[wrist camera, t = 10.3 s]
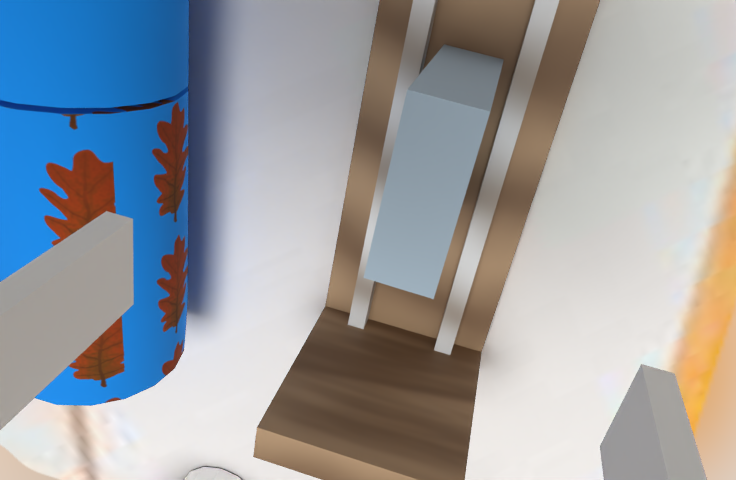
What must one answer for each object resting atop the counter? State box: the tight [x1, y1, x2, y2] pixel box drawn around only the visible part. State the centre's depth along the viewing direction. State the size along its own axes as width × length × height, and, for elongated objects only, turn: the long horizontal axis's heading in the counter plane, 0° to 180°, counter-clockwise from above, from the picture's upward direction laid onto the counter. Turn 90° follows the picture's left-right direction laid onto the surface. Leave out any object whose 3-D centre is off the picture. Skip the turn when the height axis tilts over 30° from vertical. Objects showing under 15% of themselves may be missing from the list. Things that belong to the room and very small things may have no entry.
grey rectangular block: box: [364, 45, 504, 299], centre depth 28 cm, size 8×3×10 cm, turn 168°
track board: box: [253, 0, 600, 480], centre depth 29 cm, size 26×10×12 cm, turn 169°
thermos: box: [0, 0, 189, 406], centre depth 34 cm, size 11×11×25 cm
